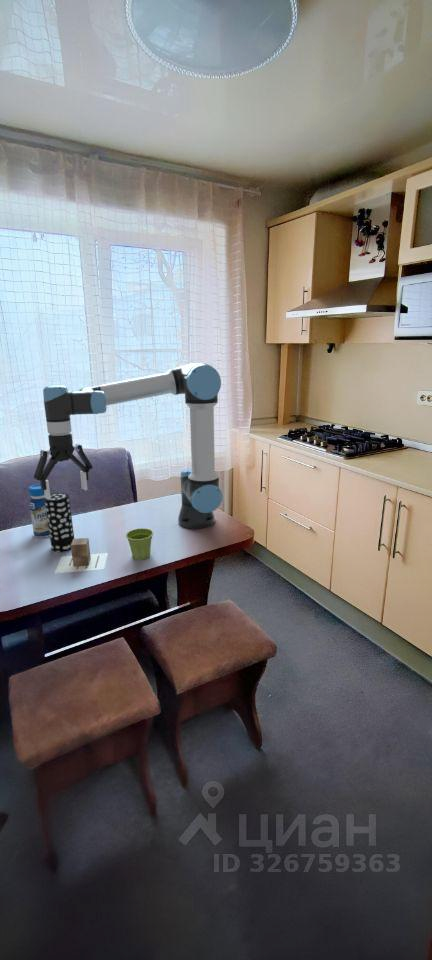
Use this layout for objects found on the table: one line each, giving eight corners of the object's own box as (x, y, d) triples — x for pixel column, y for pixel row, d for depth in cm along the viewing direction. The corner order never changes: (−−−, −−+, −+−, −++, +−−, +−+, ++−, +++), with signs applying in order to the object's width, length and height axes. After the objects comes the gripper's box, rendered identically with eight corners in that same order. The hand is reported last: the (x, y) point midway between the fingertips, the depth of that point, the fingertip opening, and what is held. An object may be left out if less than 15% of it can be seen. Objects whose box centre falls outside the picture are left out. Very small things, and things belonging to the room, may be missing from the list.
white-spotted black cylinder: (47, 551, 158) (39, 500, 152) (58, 542, 166) (51, 492, 160) (69, 553, 157) (62, 501, 151) (79, 543, 165) (72, 493, 159)
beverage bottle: (52, 528, 179) (46, 481, 173) (58, 534, 173) (52, 487, 167) (31, 533, 175) (23, 485, 169) (36, 540, 168) (28, 491, 162)
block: (90, 558, 152) (88, 537, 150) (88, 565, 147) (86, 544, 145) (76, 559, 151) (73, 538, 149) (73, 566, 147) (70, 545, 144)
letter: (107, 553, 156) (107, 553, 156) (104, 569, 145) (104, 569, 145) (61, 557, 154) (61, 556, 154) (54, 573, 143) (54, 573, 143)
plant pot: (149, 563, 148) (147, 540, 146) (123, 561, 150) (121, 538, 148) (158, 551, 157) (156, 529, 155) (133, 549, 159) (132, 527, 156)
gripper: (88, 427, 156) (93, 483, 162) (17, 437, 139) (26, 500, 145) (99, 429, 151) (104, 487, 157) (27, 440, 134) (36, 505, 140)
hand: (66, 493), depth 151 cm, fingers open, 13 cm apart
